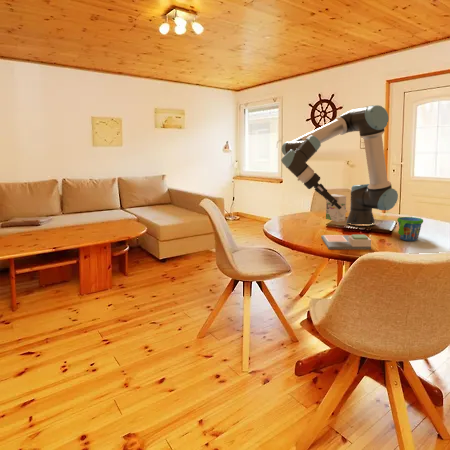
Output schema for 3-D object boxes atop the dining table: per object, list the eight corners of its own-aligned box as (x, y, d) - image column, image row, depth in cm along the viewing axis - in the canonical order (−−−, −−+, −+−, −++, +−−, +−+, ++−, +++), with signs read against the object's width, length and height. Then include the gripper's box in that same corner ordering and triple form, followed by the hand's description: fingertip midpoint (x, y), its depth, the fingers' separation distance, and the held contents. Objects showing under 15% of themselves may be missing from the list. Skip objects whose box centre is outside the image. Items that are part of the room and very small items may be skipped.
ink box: (325, 219, 172) (326, 194, 169) (333, 218, 174) (334, 193, 171) (337, 222, 164) (338, 196, 162) (345, 220, 166) (346, 195, 164)
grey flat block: (358, 237, 176) (359, 229, 175) (371, 249, 156) (371, 239, 155) (321, 237, 178) (321, 229, 177) (328, 249, 158) (329, 240, 157)
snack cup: (408, 235, 178) (410, 215, 176) (429, 239, 169) (431, 218, 167) (388, 239, 171) (389, 218, 169) (408, 244, 162) (410, 222, 160)
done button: (364, 239, 162) (364, 234, 161) (367, 242, 156) (368, 237, 156) (351, 239, 163) (351, 234, 162) (354, 242, 157) (354, 237, 157)
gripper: (300, 181, 178) (332, 212, 179) (305, 186, 156) (341, 221, 158) (311, 170, 176) (343, 202, 178) (318, 173, 155) (354, 209, 156)
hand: (342, 211), depth 168 cm, fingers closed on ink box, 9 cm apart
